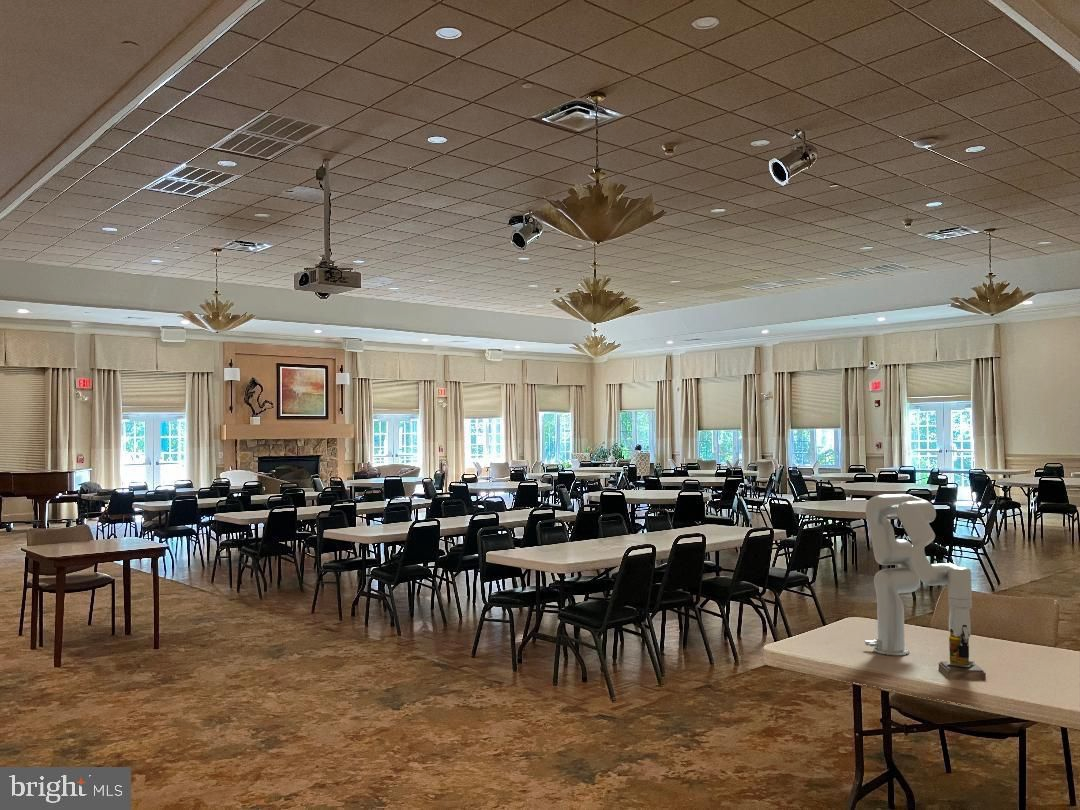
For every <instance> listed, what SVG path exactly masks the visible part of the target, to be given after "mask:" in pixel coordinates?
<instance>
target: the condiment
mask: <svg viewBox="0 0 1080 810" xmlns="http://www.w3.org/2000/svg"><path fill="white" fill-rule="evenodd" d="M960 636H964V635H960ZM961 640H962V639H961ZM948 644H949V649H948V650H949V661H947V662H948V663H947V664H950V665H956V666H965V667H969V666H971V665H972V664H973V663H975V661H971V660H970V658H969V657H970V656H969V657H968V658H963V657H959V645H960V644H959V636H958V637H955V636H954V635H953V630H952V629H950V632H949V637H948Z"/></svg>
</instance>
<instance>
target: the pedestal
mask: <svg viewBox="0 0 1080 810" xmlns="http://www.w3.org/2000/svg"><path fill="white" fill-rule="evenodd" d="M948 662H949V661H940V662H938V670H939V671H940V672H941V673H942V675H944V676H945V677H946V678H947V679H949V680H974V681H975V680H980V681H981V680H983V681H986V680H987V677H986V675H987V674H986V672H985V670H983V669H982V668H981V667H980V666H979V665H978V664H976V663H975V662H974V663H973V664H972V665H971V666H969V667H965V666H956V665H950V664H947V663H948Z"/></svg>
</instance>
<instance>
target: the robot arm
mask: <svg viewBox="0 0 1080 810" xmlns="http://www.w3.org/2000/svg"><path fill="white" fill-rule="evenodd" d="M865 517H866V520H867V524H868V526H869V529H870V537H871V544H872V550H873V557H874V559H875V562H876V563H877V564H879V565H882V566H894V565H897V567H890V568H883V569H880V570H878V571H877V572H876V573H874V576H873V585H874V590H875V595H876V609H877V610H876V613H877V615H876V617H877V637H876V638H875V639H873V640H867V639H866V640H864V645H865V646H869V647H873V651H874V653H876V654H877V653H878V654H880V655H885V654H886V655H885V656H906V654H907V655H909V653H910V650H909V648H907V647H906V646H905V610H904V608H905V607H904V603H903V601H902V598H901V597H900V595H899V594H906V593H907V594H908V593H913V592H915V591H917V590H918V589H919V587H920V584H921V583H920V582H922V583H923V584H925V586H926V585H927V586H929V587H930V586H933V587H935V586H945V585H947V607H949V610H948V632H949V633H950V629H952V630H953V635H954V636H955V637H958V636H959V644H960V645H959V657H963V658H968V657H970V645H969V644H970V643H969V641H970V640H969V639H970V637H971V636H972V635H971V633H972V632H971V631H972V629H971V628H972V627H971V625H972V624H971V612H970V609H972V608H973V599H972V597H973V596H972V595H973V593H972V590H973V589H972V570H971V569H970V568H969V567H966V566H961V565H960V566H958V565H956V564H954V563H949V562H941V563H940V562H939V563H930V561H929V559H928V558H927V556H926V552H925V547H926V546H928V545H930V544H931V543H932V542H933V541H934V540H935V538H936V534H935V532H934V530H933V528H932V527H931V525H930V523H932V522H934V521H935V519H936V517H937V511H936V508H935V506H934V505H933V504H932V503H931V502H930V501H928V500H927V499H923V498H922V497H921V498H920V497H917V496H913V495H911V494H908V493H907V494H906V493H896V494H895V493H894V494H892V493H891V494H889V493H888V494H878V495H874V496H872V497H871V498H869V500H868V501H867V502H866V506H865ZM887 517H898V519H899V521H900V523H901V525H902V527H903V529H904V531H905V533H906V534H907V536H908V539H909V540H910V541H909V540H906V539H903V538H902V539H901V538H900V539H899V538H898V539H896V537H895V531H894V526H893V525H892V523H891V522H890V521H889V519H888V518H887ZM960 635H964V636H960ZM961 639H962V640H961Z"/></svg>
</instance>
